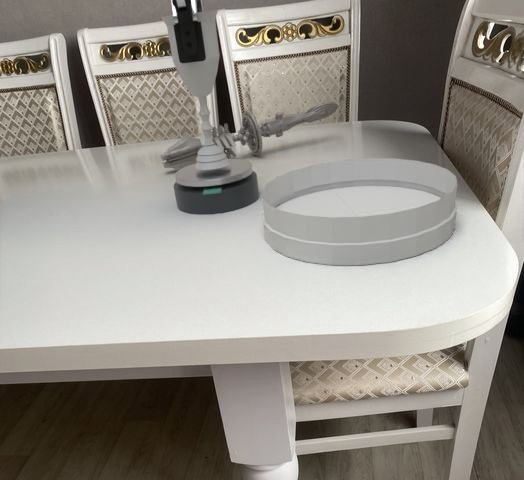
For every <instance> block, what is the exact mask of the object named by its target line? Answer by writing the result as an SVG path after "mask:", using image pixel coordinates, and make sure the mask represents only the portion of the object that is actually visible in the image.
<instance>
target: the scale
mask: <svg viewBox="0 0 524 480" xmlns="http://www.w3.org/2000/svg"><path fill="white" fill-rule="evenodd" d="M258 181H259V180H258V174H257V172H255V171H254V170H253V172H252V173H251V174H250V175H249V176H247V177H245V178H243V179H241V180H238V181H235V182H231V183H227V184H222V185H215V186H206V187H191V186H184V185H180V184H178V183H177V182H176V181H175V182H174V183H173V186H172V187H173V192H174V196H175V201H176V207H177V209H178V210H179V211H180V212H182V213H184V214H189V215H198V216H202V215H203V216H205V215H206V216H208V215H209V216H210V215H218V214H226V213H230V211H231V212H234V211H235V212H236V211H238V210H242V209H244V208H247V207H249V206H251V205H253V204H254V203H256V202H257V201H258V200H259V198H260V192H259V182H258Z"/></svg>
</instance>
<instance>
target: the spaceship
mask: <svg viewBox="0 0 524 480" xmlns="http://www.w3.org/2000/svg"><path fill="white" fill-rule="evenodd" d="M338 109H339V104H338V103H337V102H334V101H327V102H323V103H320V104H316V105H313V106H311V107H308V108H307V109H306V110H305V111H302V112H298V113H284V114H283V112H282V111H279V112H276V113H275V115H274V117H272V118H269V119H265V120H263V121H262V122H260V124H258V121H257V119H256V117H255V115H254V114H253V112H252V111H250V110H249V109H245V110H244V111H243V112H242V115H241V127H240V128H239V130H238V131H237V134H235V135H232V134H231V132H230V131H229V126H228V125H229V124H228V123H227V122H226V123H223V126H222V125H221V124H220V125H217V127H216V126H213V129H212V131H211V137H212V140H213V142H214V143H215V145H217V146H220V147H221V148H222V149H223V150H224V153H225V154H226V155H227V156H226V157H227V159H232V157H234V158H236V157H238V155H237V154H236V153H235V151H233V150H232V147H236V146H237V145H236V142H240V144H241V146H243V147H245V146H246V145H247V147H248V149H249V150H250V151H251V153H252V154H253V155H254V156H260V155H262V152H263V138H270V137H271V136H274V135H275V137H276V138H281V137H283V136H284V132H286V131H289V130H290V129H293V128H294V127H296V126H298V125H302V124H305V123H309V124H310V123H314V122H316V121H317V122H318V121H321V120H324V119H326V118H328V117H330V116H331V115H333V114H334V113H336V111H338ZM262 137H263V138H262ZM204 146H205V145H204V144H203V143H202V141H201V139H200V138H198V137H193V136H191V135H185V136H184V137H183V138H181V139H180V140H178V141H177V142H175V143H174V144H173V145H171V146H170V147H169V148H167V150H166V151H164V152H163V153H162V154H160V156H159V157H160V160H161V161H162V163H161V165H163V168H164V169H174V170H180V169H182V168H184V167H186V166H189V165H192V164H196V162H197V161H196V159H197V156H198V154H197V153H198V151H199V149H200V148H202V147H204ZM163 161H164V162H163Z"/></svg>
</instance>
